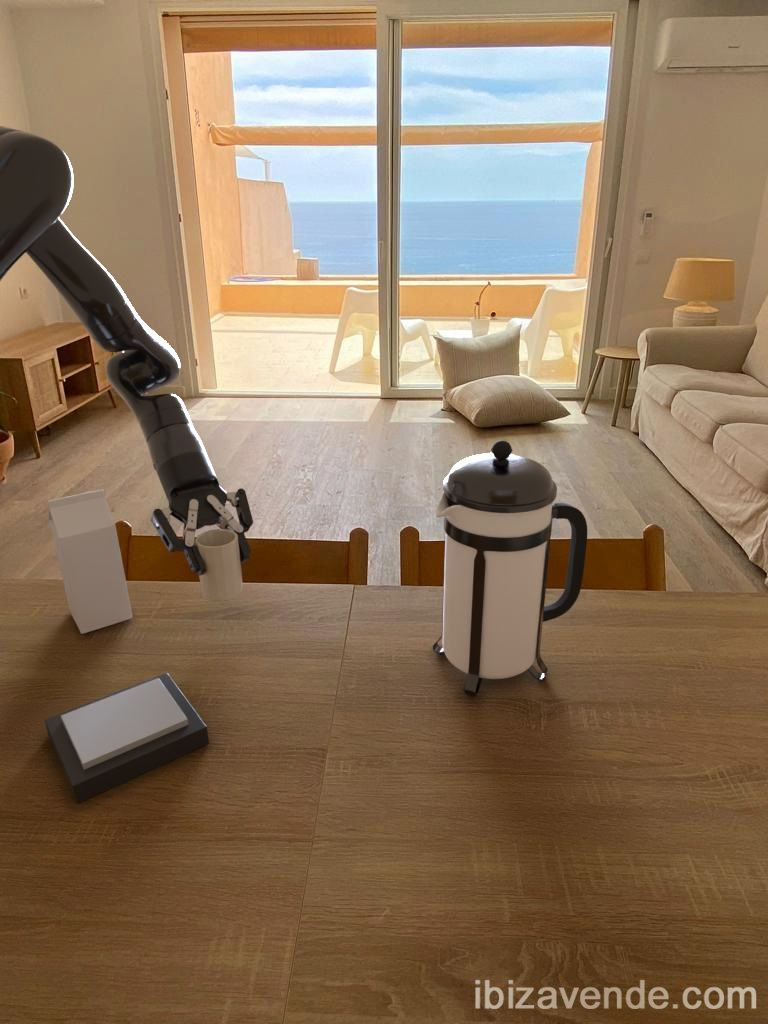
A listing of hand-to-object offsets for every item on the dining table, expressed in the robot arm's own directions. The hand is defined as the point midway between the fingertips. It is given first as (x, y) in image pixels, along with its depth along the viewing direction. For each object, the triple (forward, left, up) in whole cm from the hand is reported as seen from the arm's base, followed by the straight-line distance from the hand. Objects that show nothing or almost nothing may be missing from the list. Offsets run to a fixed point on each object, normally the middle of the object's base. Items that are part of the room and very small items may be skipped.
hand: (224, 566), depth 96 cm
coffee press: (+23, -30, -8) cm, 39 cm away
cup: (0, +2, -5) cm, 5 cm away
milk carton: (-15, +12, -8) cm, 21 cm away
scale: (-20, -16, -8) cm, 27 cm away
